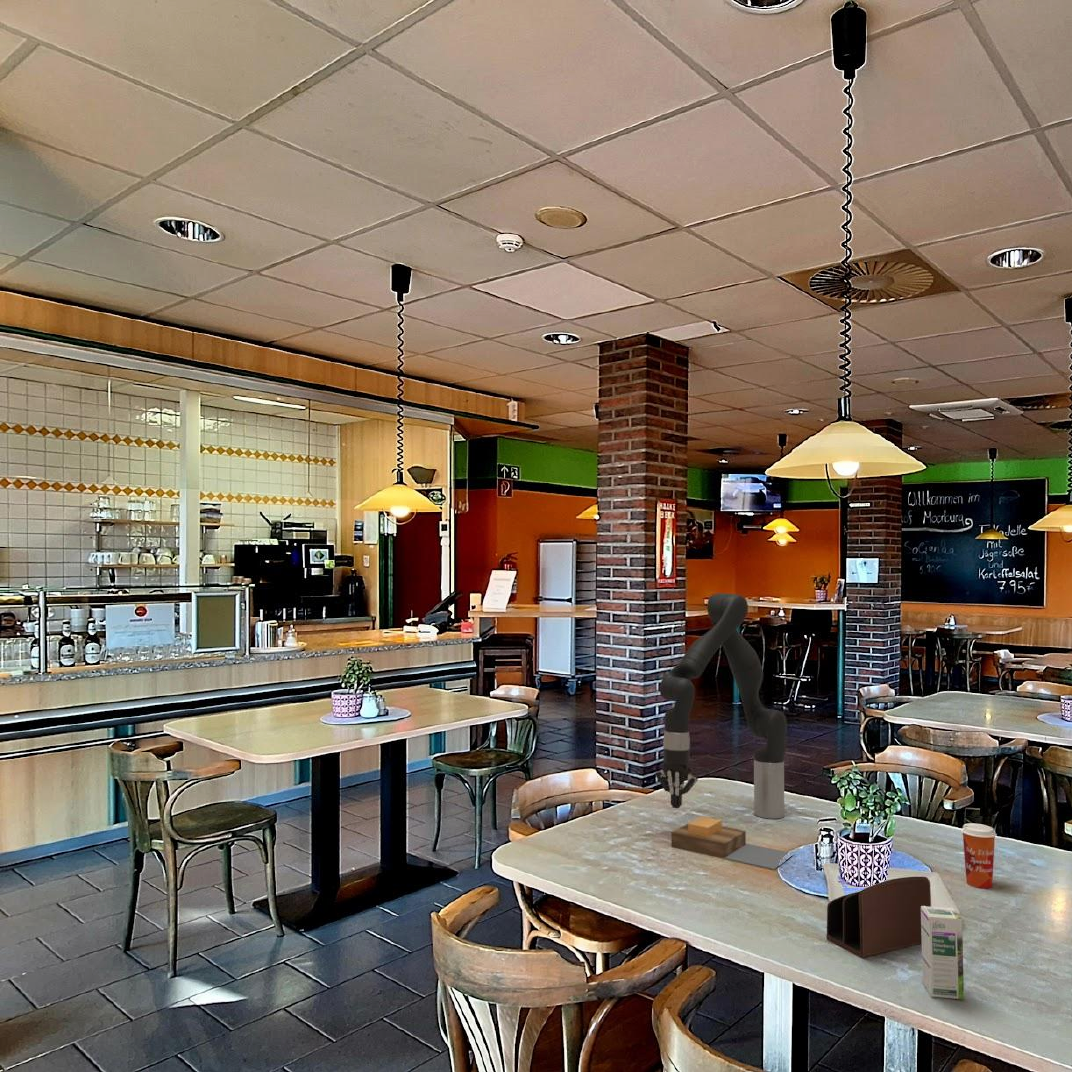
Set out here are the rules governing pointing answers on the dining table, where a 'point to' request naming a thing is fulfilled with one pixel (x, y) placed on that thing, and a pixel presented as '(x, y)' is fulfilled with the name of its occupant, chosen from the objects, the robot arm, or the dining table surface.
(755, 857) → the mat
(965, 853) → the paper cup
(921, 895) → the letter holder
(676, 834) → the wooden block
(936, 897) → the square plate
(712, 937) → the dining table surface
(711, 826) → the orange rectangular block
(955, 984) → the syrup box
